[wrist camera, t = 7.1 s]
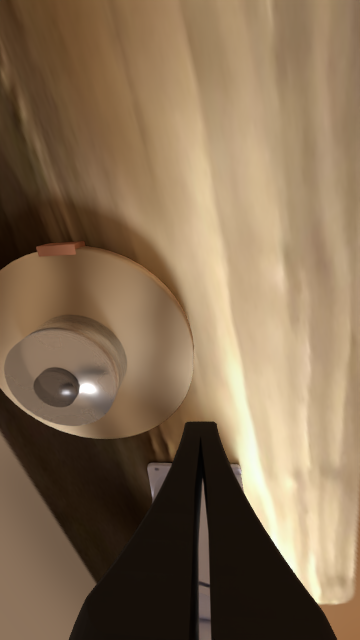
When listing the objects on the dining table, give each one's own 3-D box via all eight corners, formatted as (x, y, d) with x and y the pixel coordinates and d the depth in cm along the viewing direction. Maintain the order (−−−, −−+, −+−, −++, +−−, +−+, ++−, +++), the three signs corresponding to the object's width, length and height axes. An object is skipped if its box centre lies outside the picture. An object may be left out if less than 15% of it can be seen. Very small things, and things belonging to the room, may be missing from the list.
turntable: (187, 234, 16) (186, 236, 15) (198, 425, 22) (198, 439, 21) (-45, 249, 17) (-66, 253, 16) (29, 424, 24) (18, 438, 22)
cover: (121, 314, 17) (102, 340, 14) (131, 397, 20) (118, 435, 16) (21, 314, 17) (-20, 338, 14) (45, 394, 20) (16, 430, 17)
